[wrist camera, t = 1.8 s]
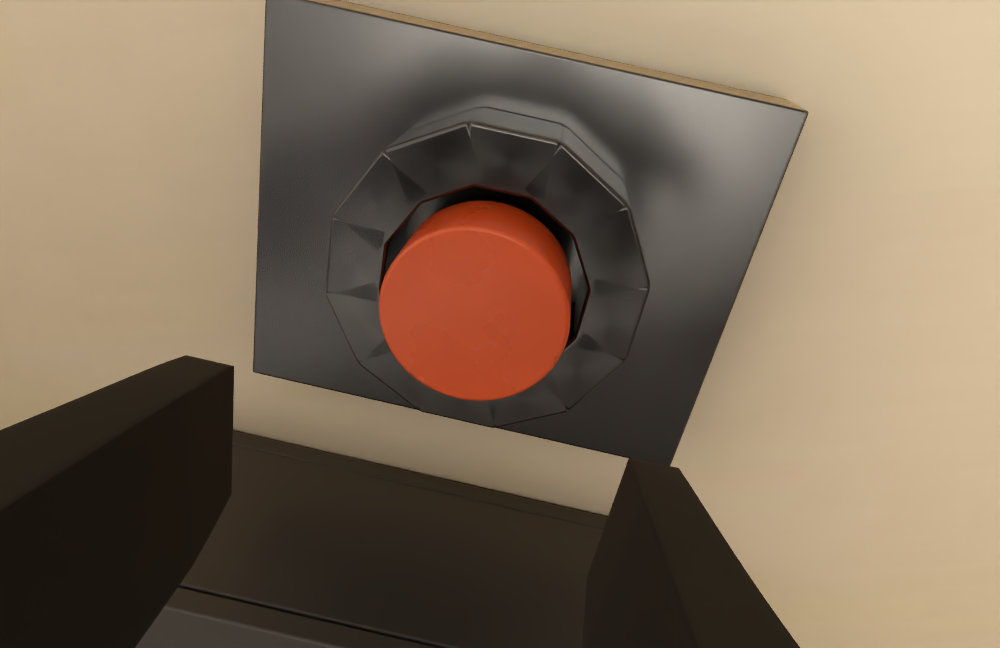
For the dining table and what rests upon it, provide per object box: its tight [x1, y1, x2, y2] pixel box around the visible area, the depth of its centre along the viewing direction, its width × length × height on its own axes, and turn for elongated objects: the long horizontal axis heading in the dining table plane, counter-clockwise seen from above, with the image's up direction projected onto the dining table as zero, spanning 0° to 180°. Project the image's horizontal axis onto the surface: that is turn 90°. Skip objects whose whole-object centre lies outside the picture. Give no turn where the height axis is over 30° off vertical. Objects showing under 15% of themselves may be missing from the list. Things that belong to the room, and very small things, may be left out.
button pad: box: [253, 0, 808, 466], centre depth 15 cm, size 9×11×4 cm
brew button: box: [379, 200, 572, 401], centre depth 13 cm, size 4×4×2 cm
